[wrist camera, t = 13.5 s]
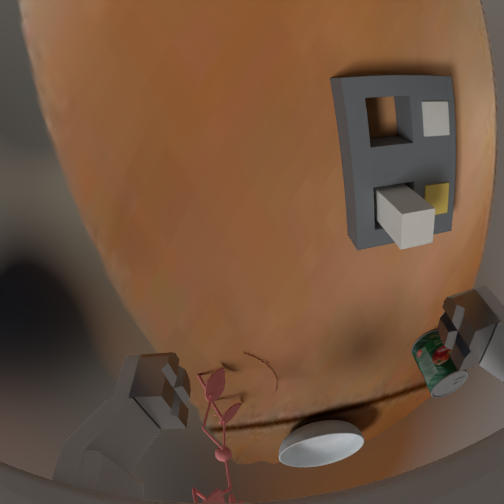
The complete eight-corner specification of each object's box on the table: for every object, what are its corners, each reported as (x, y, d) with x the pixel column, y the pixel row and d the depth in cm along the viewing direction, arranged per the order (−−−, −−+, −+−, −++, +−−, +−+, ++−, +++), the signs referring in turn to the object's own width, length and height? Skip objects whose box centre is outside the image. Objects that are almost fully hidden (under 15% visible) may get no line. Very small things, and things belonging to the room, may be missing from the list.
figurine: (216, 419, 63) (218, 564, 32) (179, 345, 50) (157, 558, 19) (285, 411, 62) (305, 559, 32) (271, 333, 49) (301, 558, 19)
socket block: (329, 78, 30) (341, 78, 26) (433, 74, 29) (453, 76, 25) (347, 234, 40) (358, 251, 36) (436, 217, 39) (452, 231, 35)
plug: (366, 180, 36) (402, 214, 28) (394, 176, 36) (435, 208, 27) (368, 210, 38) (400, 249, 30) (395, 205, 38) (432, 242, 29)
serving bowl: (364, 430, 71) (370, 451, 65) (293, 451, 75) (295, 472, 69) (349, 399, 61) (356, 424, 55) (263, 425, 65) (264, 450, 59)
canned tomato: (410, 361, 55) (428, 403, 46) (412, 337, 51) (434, 382, 42) (442, 348, 54) (463, 387, 45) (447, 323, 50) (472, 364, 41)
